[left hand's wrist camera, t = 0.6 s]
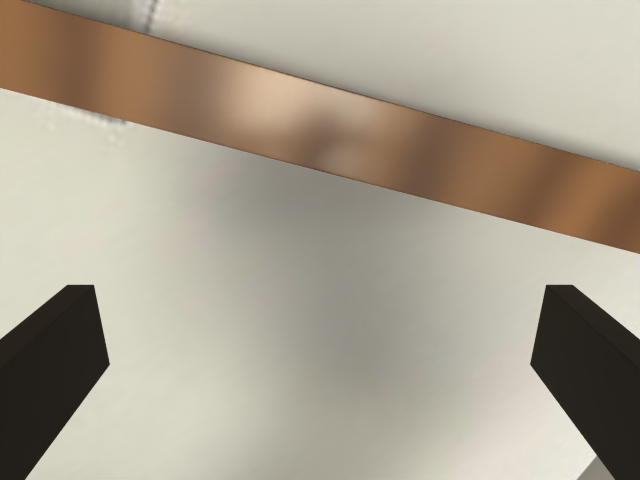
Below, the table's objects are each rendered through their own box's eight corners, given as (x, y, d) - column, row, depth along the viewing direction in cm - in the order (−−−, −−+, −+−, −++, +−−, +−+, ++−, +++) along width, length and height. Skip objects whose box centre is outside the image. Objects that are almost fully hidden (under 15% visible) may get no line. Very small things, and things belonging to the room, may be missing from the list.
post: (666, 179, 37) (744, 201, 30) (635, 237, 39) (702, 270, 32) (-316, -94, 30) (-501, -146, 23) (-299, -9, 32) (-466, -33, 25)
